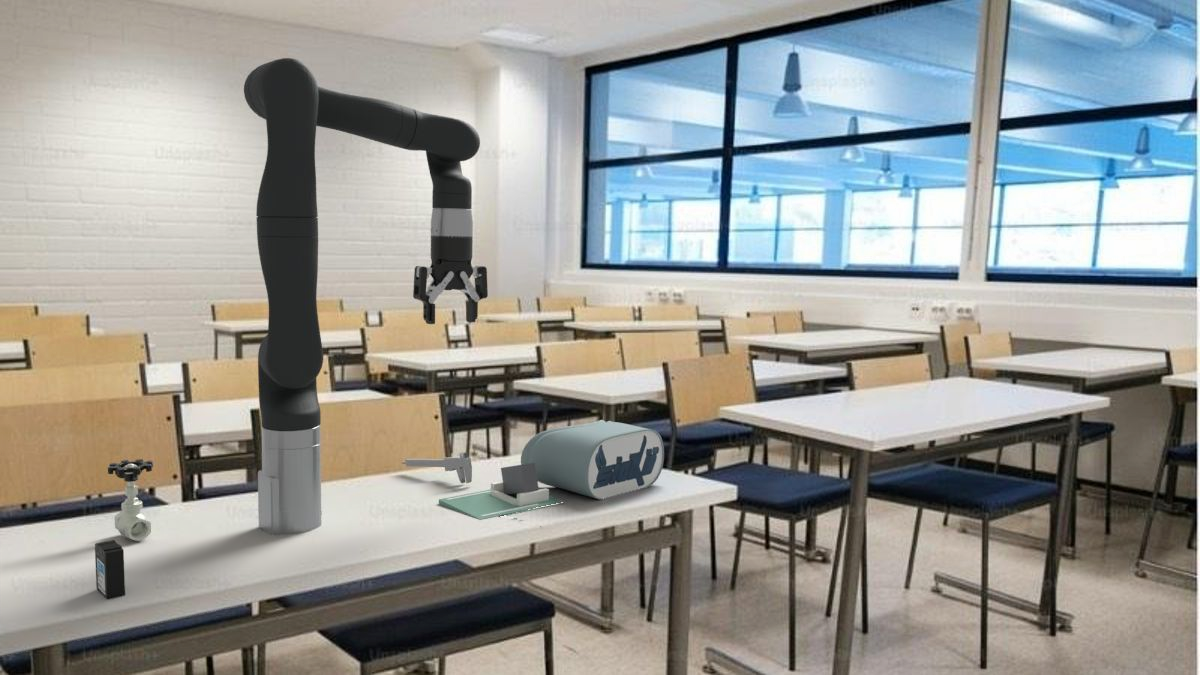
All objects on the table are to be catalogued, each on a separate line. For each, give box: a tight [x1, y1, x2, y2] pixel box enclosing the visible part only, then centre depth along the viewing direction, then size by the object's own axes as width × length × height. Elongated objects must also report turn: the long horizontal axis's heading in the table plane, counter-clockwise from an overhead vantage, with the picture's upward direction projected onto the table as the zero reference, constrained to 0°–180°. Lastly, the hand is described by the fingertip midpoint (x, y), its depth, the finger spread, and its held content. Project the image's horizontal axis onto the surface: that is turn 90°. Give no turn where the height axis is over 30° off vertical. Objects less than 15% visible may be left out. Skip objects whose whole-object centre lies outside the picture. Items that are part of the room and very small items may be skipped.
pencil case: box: [520, 419, 665, 501], centre depth 180 cm, size 22×19×13 cm
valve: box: [107, 458, 154, 542], centre depth 145 cm, size 7×7×12 cm
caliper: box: [401, 451, 473, 484], centre depth 185 cm, size 20×1×6 cm, turn 51°
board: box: [438, 480, 565, 521], centre depth 167 cm, size 18×14×3 cm
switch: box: [500, 463, 540, 494], centre depth 169 cm, size 3×5×8 cm
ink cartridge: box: [94, 539, 126, 600], centre depth 120 cm, size 5×2×8 cm, turn 43°
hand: (450, 322), depth 167 cm, fingers open, 8 cm apart
